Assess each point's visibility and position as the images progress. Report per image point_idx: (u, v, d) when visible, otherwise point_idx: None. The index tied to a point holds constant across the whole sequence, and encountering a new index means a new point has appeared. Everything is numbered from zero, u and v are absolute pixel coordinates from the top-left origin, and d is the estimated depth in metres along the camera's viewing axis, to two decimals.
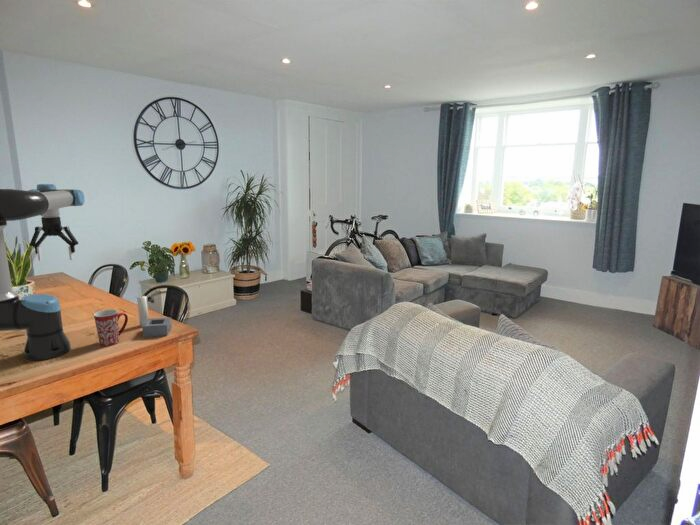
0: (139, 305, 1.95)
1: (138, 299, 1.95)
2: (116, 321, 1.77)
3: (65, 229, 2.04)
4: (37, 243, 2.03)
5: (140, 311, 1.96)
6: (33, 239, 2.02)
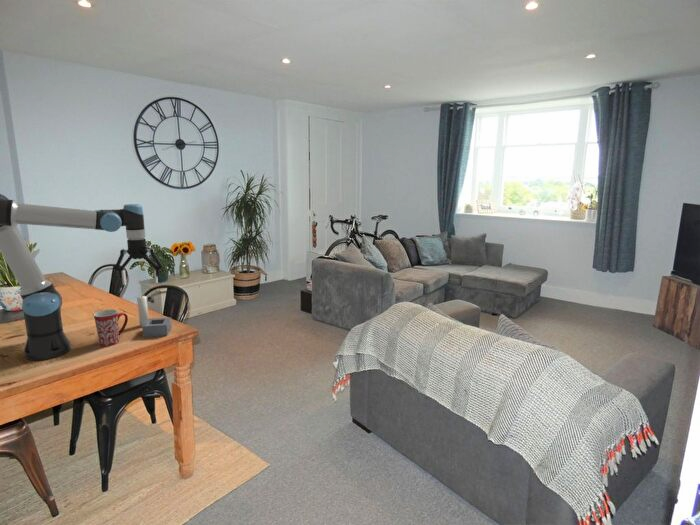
0: (139, 305, 1.95)
1: (138, 299, 1.95)
2: (116, 321, 1.77)
3: (151, 252, 1.92)
4: (122, 267, 1.91)
5: (140, 311, 1.96)
6: (118, 263, 1.90)
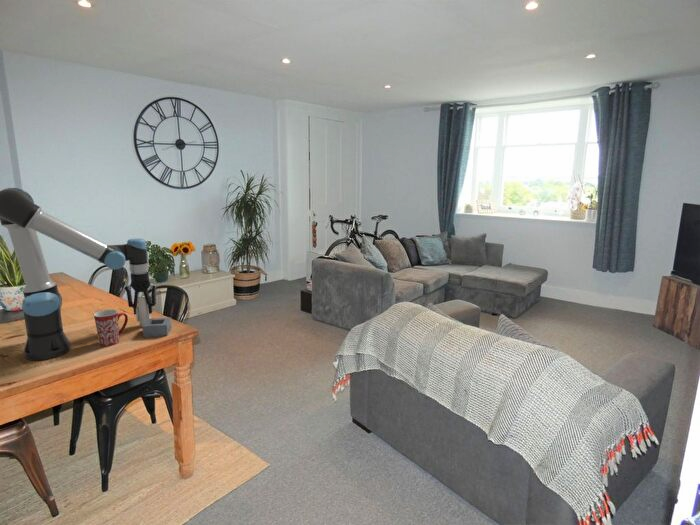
0: (139, 305, 1.95)
1: (138, 299, 1.95)
2: (116, 321, 1.77)
3: (153, 288, 1.95)
4: (134, 303, 1.95)
5: (140, 311, 1.96)
6: (129, 299, 1.94)
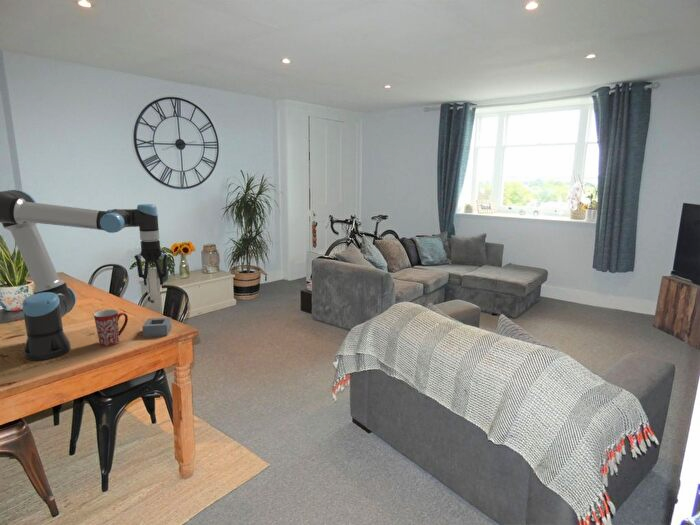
0: (150, 277, 1.84)
1: (149, 270, 1.83)
2: (116, 321, 1.77)
3: (164, 257, 1.84)
4: (145, 273, 1.84)
5: (151, 283, 1.85)
6: (139, 269, 1.83)
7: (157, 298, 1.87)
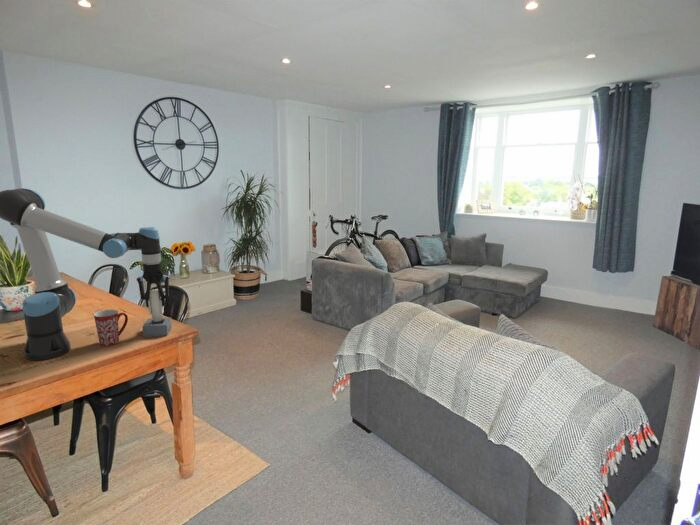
0: (152, 299, 1.86)
1: (151, 292, 1.86)
2: (116, 321, 1.77)
3: (166, 279, 1.86)
4: (147, 295, 1.86)
5: (153, 305, 1.87)
6: (141, 291, 1.85)
7: (159, 319, 1.89)
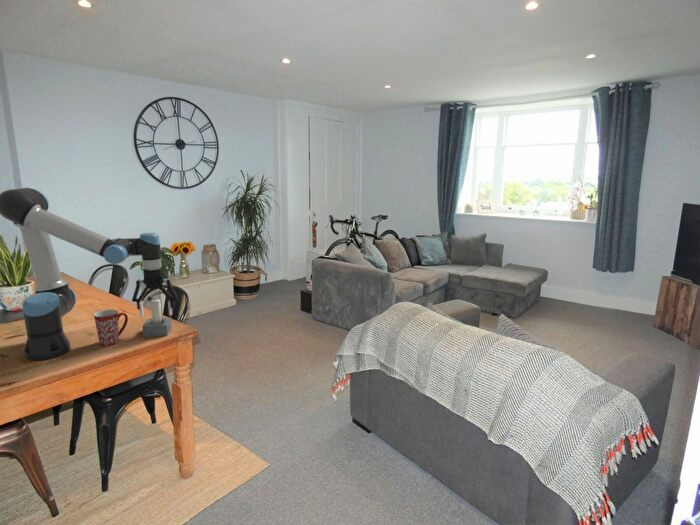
0: (152, 309, 1.87)
1: (152, 303, 1.87)
2: (116, 321, 1.77)
3: (167, 282, 1.87)
4: (139, 298, 1.85)
5: (153, 315, 1.88)
6: (135, 294, 1.85)
7: None
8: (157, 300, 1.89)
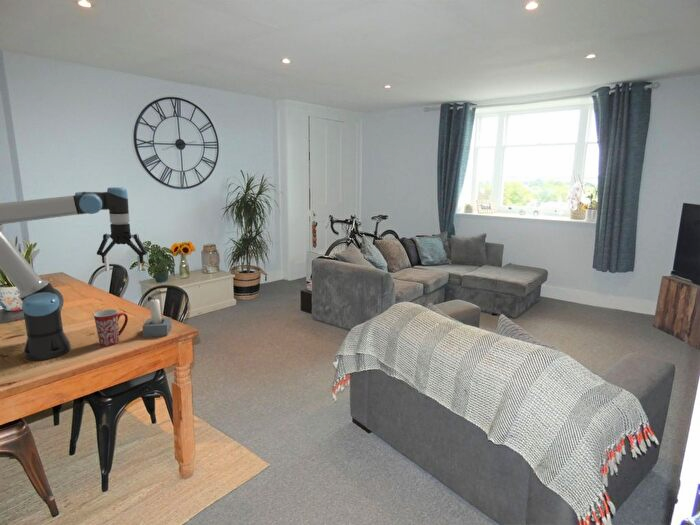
0: (152, 309, 1.87)
1: (151, 303, 1.87)
2: (116, 321, 1.77)
3: (135, 237, 1.86)
4: (105, 252, 1.85)
5: (153, 315, 1.88)
6: (101, 247, 1.84)
7: None
8: (156, 300, 1.89)
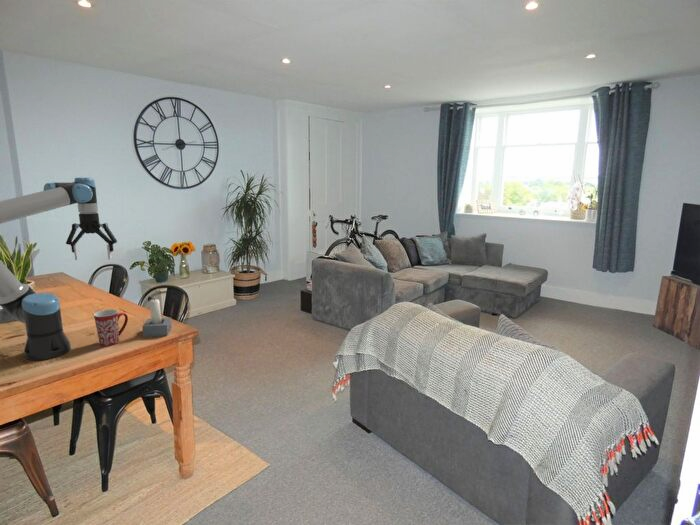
0: (152, 309, 1.87)
1: (151, 303, 1.87)
2: (116, 321, 1.77)
3: (104, 226, 1.90)
4: (74, 241, 1.88)
5: (153, 315, 1.88)
6: (70, 237, 1.88)
7: None
8: (156, 300, 1.89)
